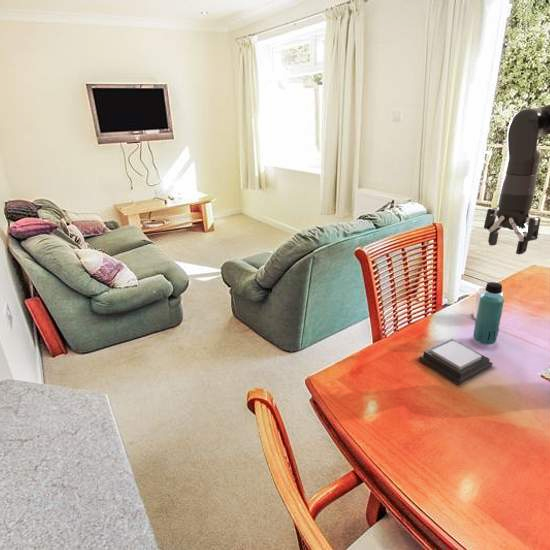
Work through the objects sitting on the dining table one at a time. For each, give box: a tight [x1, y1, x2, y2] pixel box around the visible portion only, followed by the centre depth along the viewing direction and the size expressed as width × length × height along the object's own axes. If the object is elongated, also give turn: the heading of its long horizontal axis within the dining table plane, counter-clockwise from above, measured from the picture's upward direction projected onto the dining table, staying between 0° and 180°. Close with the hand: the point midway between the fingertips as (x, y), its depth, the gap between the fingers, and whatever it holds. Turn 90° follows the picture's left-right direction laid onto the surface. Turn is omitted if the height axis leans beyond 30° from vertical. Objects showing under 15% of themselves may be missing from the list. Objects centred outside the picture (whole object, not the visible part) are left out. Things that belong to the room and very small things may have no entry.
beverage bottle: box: [472, 281, 505, 345], centre depth 111 cm, size 6×7×20 cm
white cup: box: [473, 286, 504, 320], centre depth 127 cm, size 8×8×10 cm
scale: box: [418, 338, 493, 386], centre depth 106 cm, size 14×13×3 cm
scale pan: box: [431, 340, 483, 370], centre depth 106 cm, size 9×9×2 cm
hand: (505, 249), depth 105 cm, fingers open, 8 cm apart
